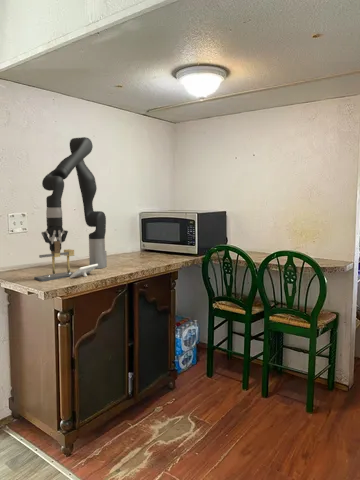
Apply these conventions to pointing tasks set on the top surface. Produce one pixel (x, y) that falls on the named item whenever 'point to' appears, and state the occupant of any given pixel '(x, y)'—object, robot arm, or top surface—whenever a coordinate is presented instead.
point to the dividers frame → (66, 253)
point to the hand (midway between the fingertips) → (55, 250)
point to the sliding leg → (55, 254)
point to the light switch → (84, 270)
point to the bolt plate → (53, 276)
